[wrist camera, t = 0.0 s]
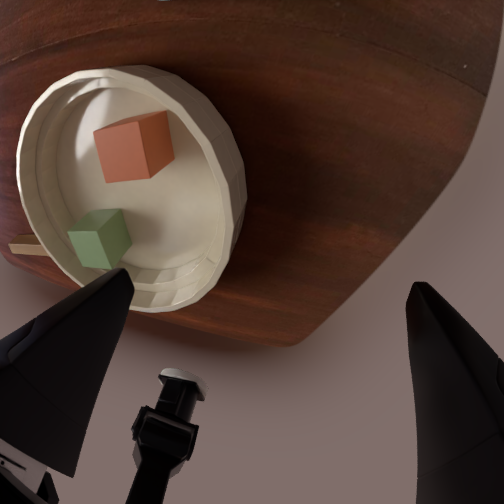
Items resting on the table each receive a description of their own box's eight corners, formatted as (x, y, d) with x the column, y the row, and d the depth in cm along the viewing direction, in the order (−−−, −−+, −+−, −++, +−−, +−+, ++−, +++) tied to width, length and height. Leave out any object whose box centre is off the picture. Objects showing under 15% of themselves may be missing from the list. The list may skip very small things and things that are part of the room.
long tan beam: (69, 245, 29) (58, 257, 28) (22, 243, 32) (12, 253, 30) (64, 234, 28) (52, 245, 27) (18, 234, 31) (7, 243, 29)
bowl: (257, 284, 27) (247, 324, 23) (88, 270, 31) (66, 297, 27) (233, 38, 15) (210, 29, 11) (33, 103, 19) (-3, 118, 15)
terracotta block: (175, 159, 21) (151, 179, 17) (132, 164, 21) (105, 183, 18) (166, 109, 18) (138, 120, 15) (123, 118, 19) (92, 131, 16)
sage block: (132, 244, 26) (112, 269, 23) (103, 243, 27) (82, 266, 24) (121, 208, 24) (96, 231, 21) (91, 210, 25) (66, 231, 22)
